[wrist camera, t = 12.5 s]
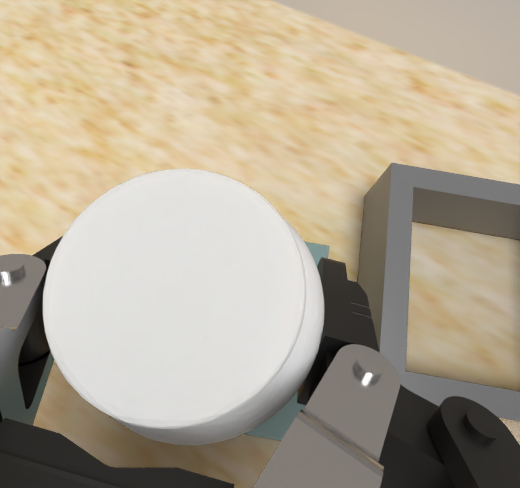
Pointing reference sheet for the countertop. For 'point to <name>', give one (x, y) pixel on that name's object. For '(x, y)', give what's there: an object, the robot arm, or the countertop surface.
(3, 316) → the robot arm
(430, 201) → the square frame
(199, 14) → the countertop surface
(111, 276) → the supplement bottle
